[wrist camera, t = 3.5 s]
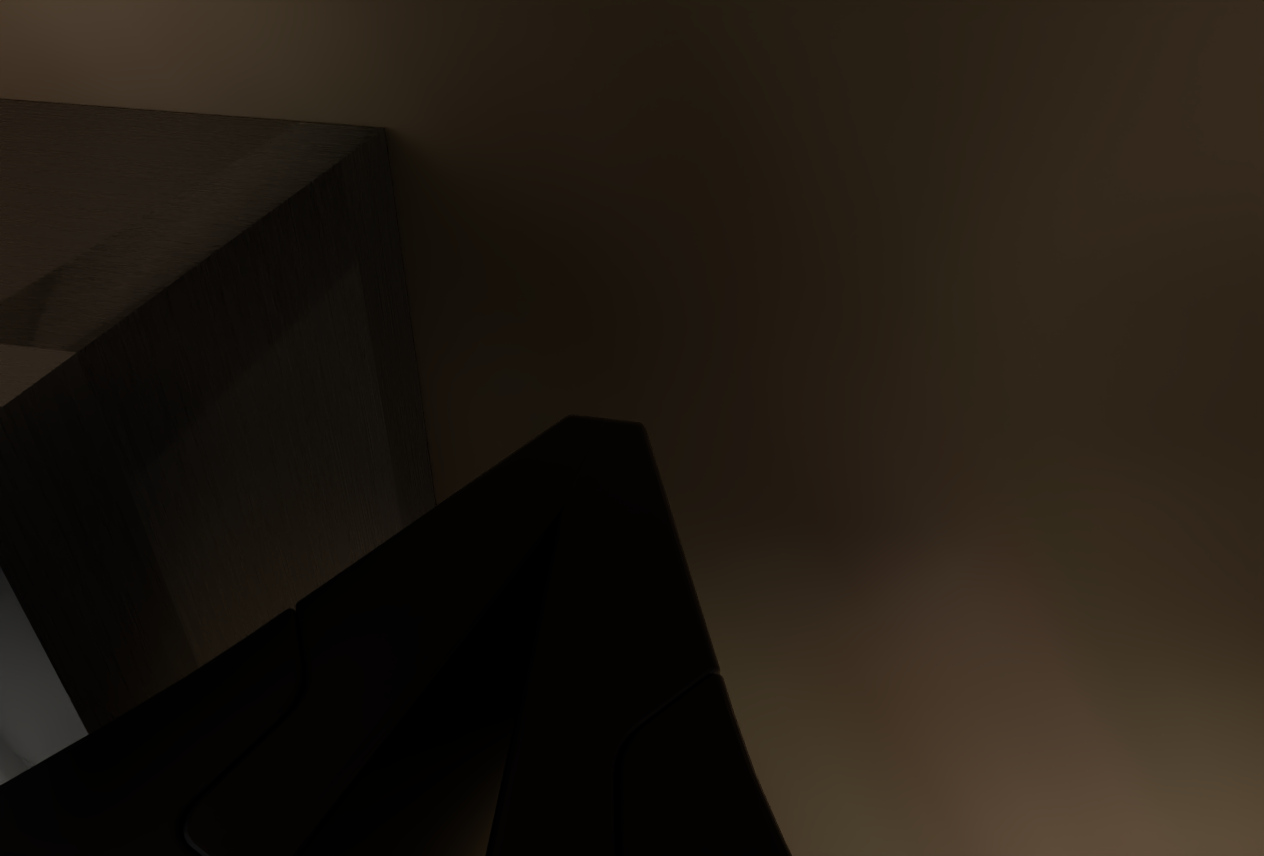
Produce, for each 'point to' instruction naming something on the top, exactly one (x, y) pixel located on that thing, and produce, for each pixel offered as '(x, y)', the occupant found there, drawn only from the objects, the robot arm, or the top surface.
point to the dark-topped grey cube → (187, 395)
